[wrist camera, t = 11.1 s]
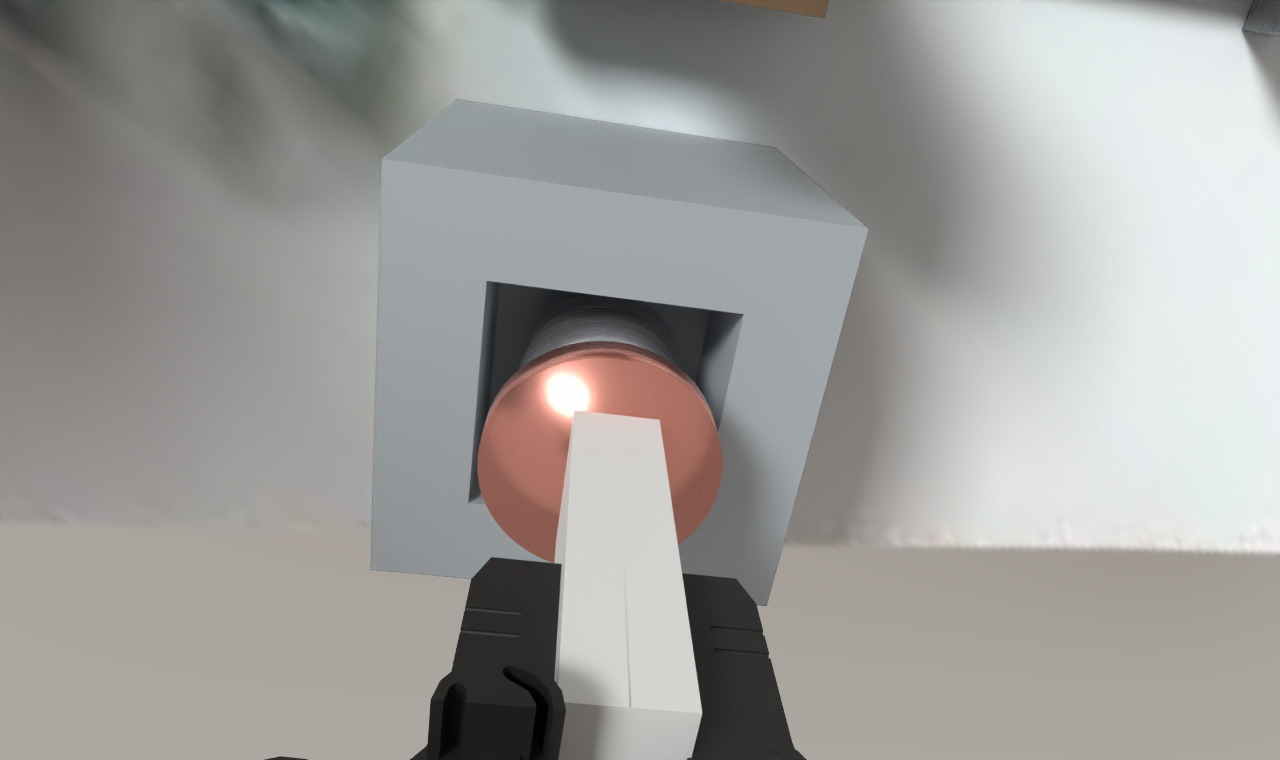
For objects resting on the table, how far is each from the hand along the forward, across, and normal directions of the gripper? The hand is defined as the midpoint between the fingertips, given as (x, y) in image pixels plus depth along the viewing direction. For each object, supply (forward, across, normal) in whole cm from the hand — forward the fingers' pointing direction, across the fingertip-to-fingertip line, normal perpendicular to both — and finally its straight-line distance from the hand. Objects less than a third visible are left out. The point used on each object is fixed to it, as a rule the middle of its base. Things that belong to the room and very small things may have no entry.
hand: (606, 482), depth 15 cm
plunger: (+4, 0, 0) cm, 4 cm away
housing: (+12, 0, 0) cm, 12 cm away
